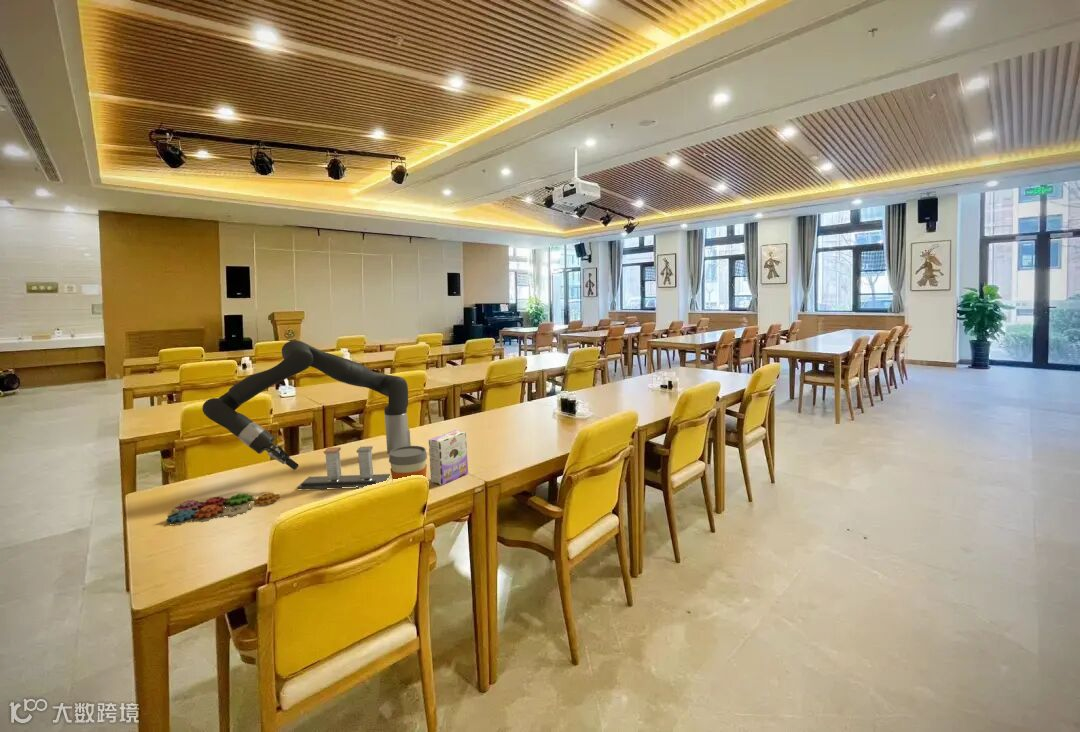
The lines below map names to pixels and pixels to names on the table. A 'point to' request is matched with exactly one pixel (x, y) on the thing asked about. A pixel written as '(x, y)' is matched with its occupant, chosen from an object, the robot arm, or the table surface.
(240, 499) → the gear puzzle
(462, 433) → the candy box
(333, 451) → the sliding pointer
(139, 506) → the table surface
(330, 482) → the bolt plate
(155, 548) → the table surface
